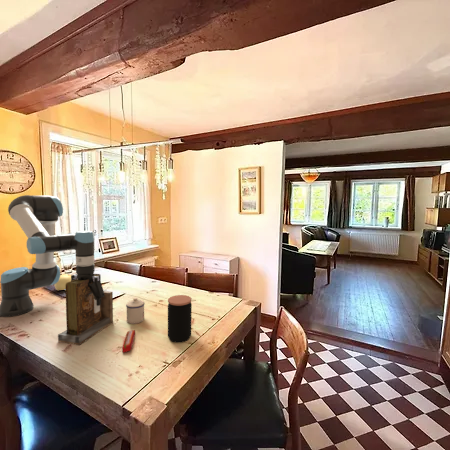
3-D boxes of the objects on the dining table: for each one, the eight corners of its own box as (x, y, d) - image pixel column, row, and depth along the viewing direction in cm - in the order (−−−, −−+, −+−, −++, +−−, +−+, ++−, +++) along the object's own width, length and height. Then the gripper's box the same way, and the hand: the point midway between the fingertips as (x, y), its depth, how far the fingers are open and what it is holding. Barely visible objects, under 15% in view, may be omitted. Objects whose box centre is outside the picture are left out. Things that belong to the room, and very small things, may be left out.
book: (93, 321, 128) (92, 273, 126) (103, 323, 127) (102, 274, 125) (66, 338, 112) (65, 283, 110) (77, 340, 111) (75, 284, 109)
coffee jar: (180, 329, 124) (181, 293, 123) (196, 336, 118) (196, 298, 116) (162, 337, 116) (162, 299, 115) (178, 346, 109) (178, 305, 108)
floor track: (58, 341, 111) (57, 306, 110) (94, 319, 132) (93, 289, 131) (79, 345, 109) (78, 309, 107) (113, 322, 130) (112, 291, 129)
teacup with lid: (147, 320, 132) (147, 299, 131) (129, 325, 126) (129, 303, 125) (138, 313, 141) (138, 292, 140) (122, 317, 136) (121, 296, 135)
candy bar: (127, 334, 118) (127, 328, 118) (135, 334, 119) (135, 328, 119) (121, 354, 103) (121, 347, 103) (130, 354, 104) (130, 346, 103)
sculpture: (73, 285, 185) (72, 271, 184) (74, 290, 175) (74, 275, 174) (54, 288, 178) (53, 273, 178) (54, 293, 169) (54, 277, 168)
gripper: (57, 264, 116) (58, 311, 118) (101, 268, 111) (102, 316, 113) (70, 261, 123) (71, 304, 125) (112, 264, 118) (113, 310, 120)
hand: (86, 310), depth 119 cm, fingers open, 11 cm apart
